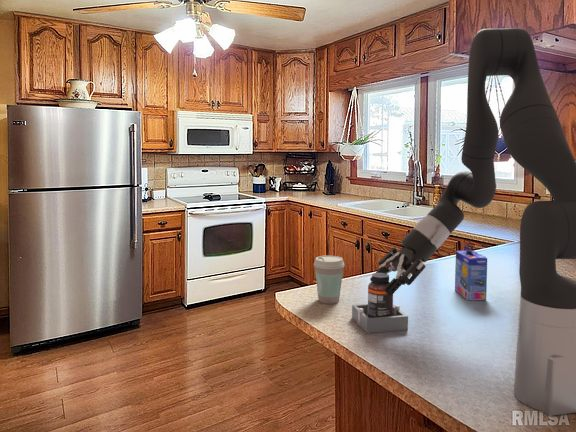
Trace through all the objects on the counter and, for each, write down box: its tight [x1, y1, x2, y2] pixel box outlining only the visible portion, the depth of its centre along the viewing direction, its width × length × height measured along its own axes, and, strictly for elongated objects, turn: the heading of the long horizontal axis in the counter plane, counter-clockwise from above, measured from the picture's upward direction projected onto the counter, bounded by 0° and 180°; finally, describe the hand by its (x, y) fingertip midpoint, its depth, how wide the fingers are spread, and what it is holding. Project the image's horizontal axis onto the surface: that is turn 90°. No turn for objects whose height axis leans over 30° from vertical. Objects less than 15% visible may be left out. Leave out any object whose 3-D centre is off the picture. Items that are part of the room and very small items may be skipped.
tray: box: [351, 303, 409, 334], centre depth 107 cm, size 10×10×4 cm
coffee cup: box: [313, 255, 346, 305], centre depth 124 cm, size 9×9×12 cm
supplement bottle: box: [367, 272, 394, 318], centre depth 107 cm, size 6×6×11 cm
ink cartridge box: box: [454, 244, 488, 301], centre depth 128 cm, size 10×6×14 cm, turn 2°
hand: (379, 287), depth 106 cm, fingers open, 8 cm apart
